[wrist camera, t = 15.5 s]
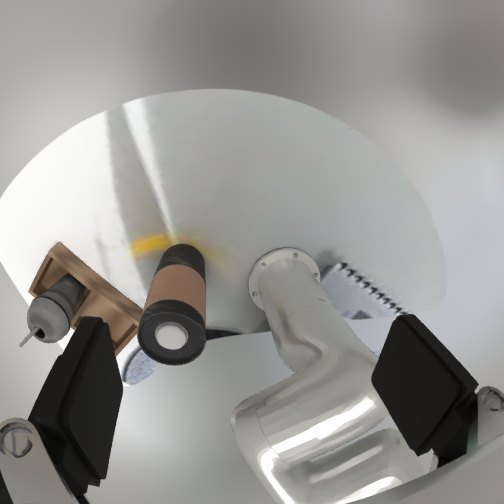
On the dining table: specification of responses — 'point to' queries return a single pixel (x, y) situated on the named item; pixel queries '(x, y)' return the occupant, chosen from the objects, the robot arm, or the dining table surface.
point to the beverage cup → (54, 310)
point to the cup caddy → (90, 295)
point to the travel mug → (175, 308)
